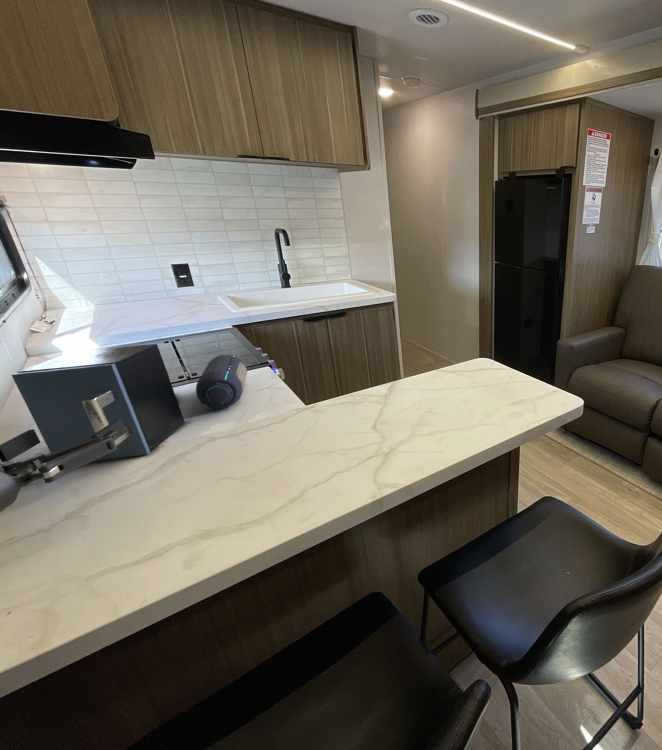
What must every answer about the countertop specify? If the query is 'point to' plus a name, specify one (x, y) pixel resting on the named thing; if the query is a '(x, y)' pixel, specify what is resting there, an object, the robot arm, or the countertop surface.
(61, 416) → the freezer door
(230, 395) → the portable speaker
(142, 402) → the box
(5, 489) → the robot arm
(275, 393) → the countertop surface
